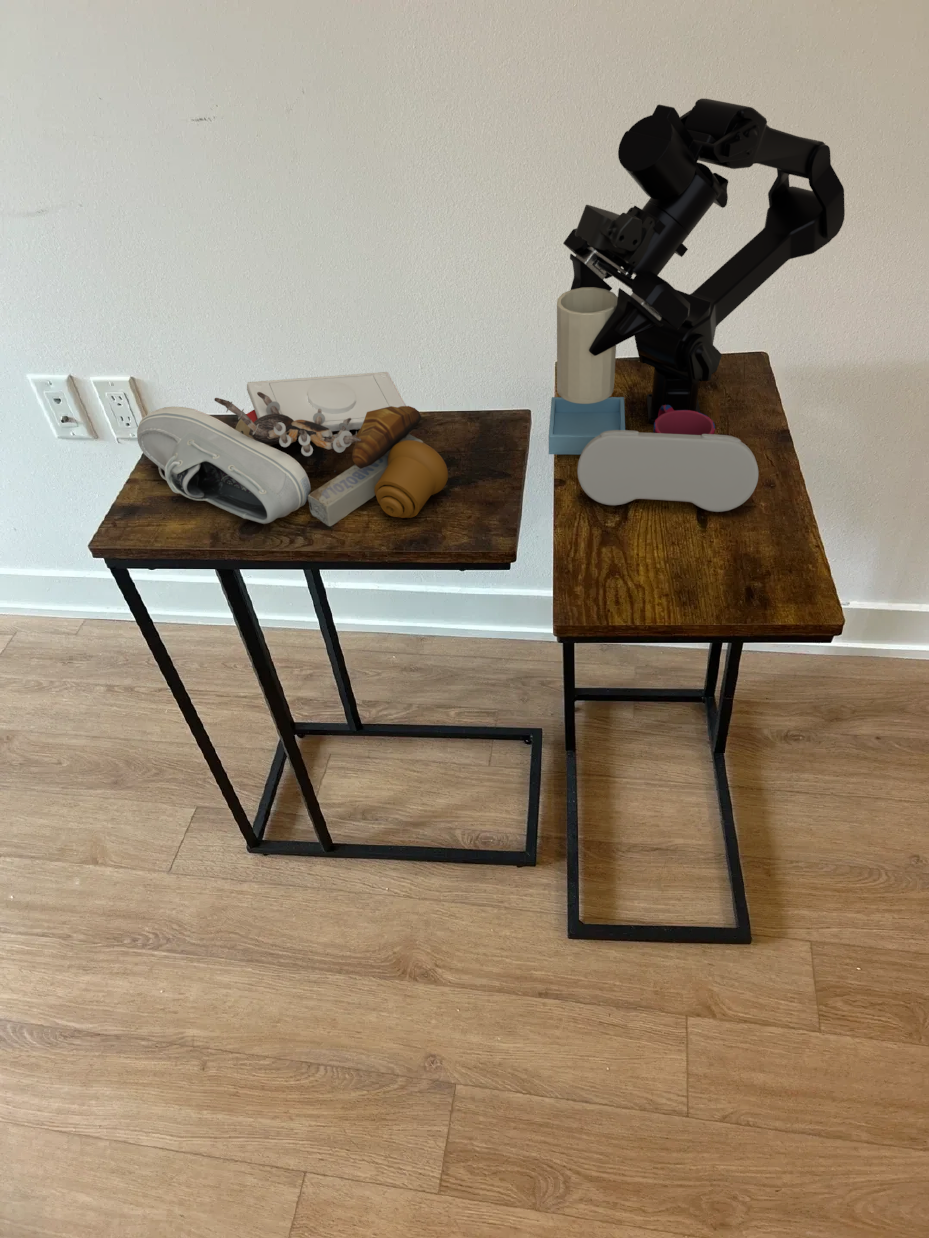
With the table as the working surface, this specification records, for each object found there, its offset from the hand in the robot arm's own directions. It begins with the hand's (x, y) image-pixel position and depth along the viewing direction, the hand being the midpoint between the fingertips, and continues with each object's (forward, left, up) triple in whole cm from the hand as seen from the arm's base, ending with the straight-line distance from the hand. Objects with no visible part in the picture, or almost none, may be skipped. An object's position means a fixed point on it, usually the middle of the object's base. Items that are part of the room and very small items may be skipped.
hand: (576, 340), depth 100 cm
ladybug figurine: (-2, -40, -14) cm, 42 cm away
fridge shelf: (-2, +2, -14) cm, 14 cm away
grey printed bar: (+8, -27, -12) cm, 30 cm away
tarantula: (+6, -31, -5) cm, 32 cm away
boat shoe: (+8, -41, -10) cm, 43 cm away
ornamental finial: (+12, -22, -12) cm, 28 cm away
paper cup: (-1, +1, -7) cm, 7 cm away
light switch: (0, -40, -8) cm, 41 cm away
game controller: (+13, +10, -14) cm, 22 cm away
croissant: (+8, -21, -9) cm, 24 cm away
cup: (+5, +12, -14) cm, 19 cm away
